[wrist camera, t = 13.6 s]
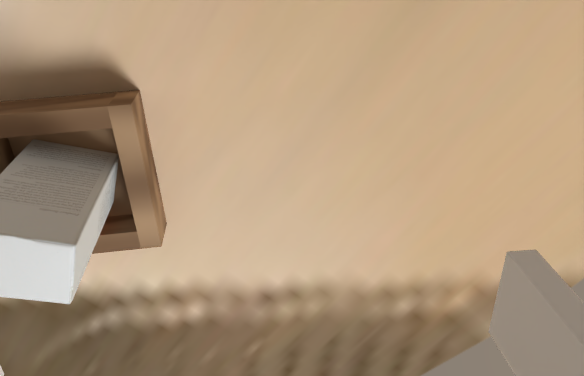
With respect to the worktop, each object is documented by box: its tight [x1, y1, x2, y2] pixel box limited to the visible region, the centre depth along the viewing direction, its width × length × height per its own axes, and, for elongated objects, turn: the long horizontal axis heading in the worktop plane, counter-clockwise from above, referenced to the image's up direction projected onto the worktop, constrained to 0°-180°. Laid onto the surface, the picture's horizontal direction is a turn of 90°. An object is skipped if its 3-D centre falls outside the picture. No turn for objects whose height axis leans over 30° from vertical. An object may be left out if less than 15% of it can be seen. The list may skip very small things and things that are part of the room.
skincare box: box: [0, 139, 119, 304], centre depth 31 cm, size 6×4×12 cm
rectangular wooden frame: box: [0, 90, 167, 254], centre depth 35 cm, size 11×11×3 cm
